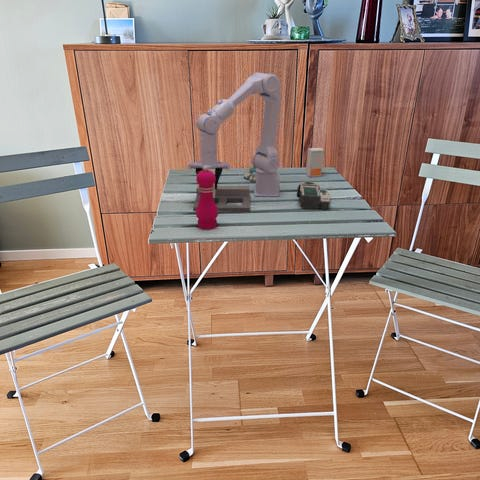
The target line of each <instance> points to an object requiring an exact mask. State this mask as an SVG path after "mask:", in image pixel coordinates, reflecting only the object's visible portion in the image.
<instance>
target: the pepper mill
mask: <svg viewBox="0 0 480 480" xmlns="http://www.w3.org/2000/svg"><path fill="white" fill-rule="evenodd" d="M195 181H196V183H197V185H199V186H198V188H199V189H198V190H199V191H200V200H199V203H198V205H197V208H196V211H195V216H196V218H197V227H198V228H199V229H203V230H211V229H215V228H216V227H217V226H218V220H217V218H218V216H219V211H218V209H217V206H216V205H217V204H216V203H215V202H216V201H214V199H213V191H214V185H213V184H214V183H215V181H216V177H215V172H213V171H212V170H211V169H209V168H208V166H206V165H205V166H203V170H202V171H200V172H199V173H198V174H196V179H195Z"/></svg>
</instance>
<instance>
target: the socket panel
mask: <svg viewBox="0 0 480 480" xmlns="http://www.w3.org/2000/svg"><path fill="white" fill-rule="evenodd" d="M198 186H199V184H197V186H196V189H195V190H196V197H195V199H194V203H193V206H192V210H193V211H192V212H196V208H197V205H198V203H199V200H200V191H199V190H198V189H199V188H198ZM250 188H251V187H250V185H217V189H216V194H215V198H213V199H214V202H217V204H216V206H217V209H218V212H234V213H235V212H237V213H238V212H242V213H244V212H245V213H247V212H249V213H250V212H251V205H250V204H251V203H250V202H251V198H250V197H251V196H250V195H251V192H250V190H251V189H250ZM229 202H230V203H231V202H232V203H233V202H234V203H238V202H239V203H240V202H241V203H242V205H241V204H238V205H237V204H236V205H234V204H227V203H229Z"/></svg>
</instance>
